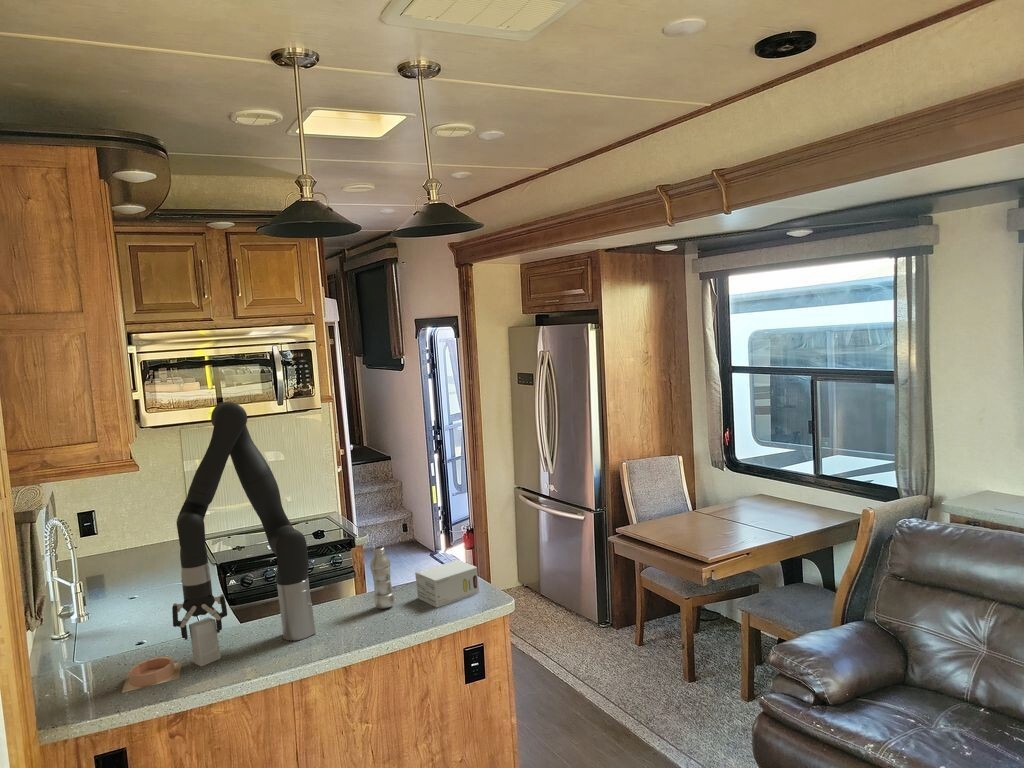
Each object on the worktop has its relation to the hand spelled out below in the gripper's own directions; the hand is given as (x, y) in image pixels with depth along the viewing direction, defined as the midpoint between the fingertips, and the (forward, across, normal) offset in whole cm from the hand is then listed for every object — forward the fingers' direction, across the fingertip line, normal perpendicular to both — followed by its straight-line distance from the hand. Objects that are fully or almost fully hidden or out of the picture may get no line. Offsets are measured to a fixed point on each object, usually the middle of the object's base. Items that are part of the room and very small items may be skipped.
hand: (202, 635), depth 204 cm
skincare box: (+8, -1, 0) cm, 8 cm away
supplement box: (+7, -76, -7) cm, 76 cm away
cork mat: (+8, +13, +2) cm, 16 cm away
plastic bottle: (+7, -55, -10) cm, 56 cm away
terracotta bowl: (+8, +14, +2) cm, 16 cm away
